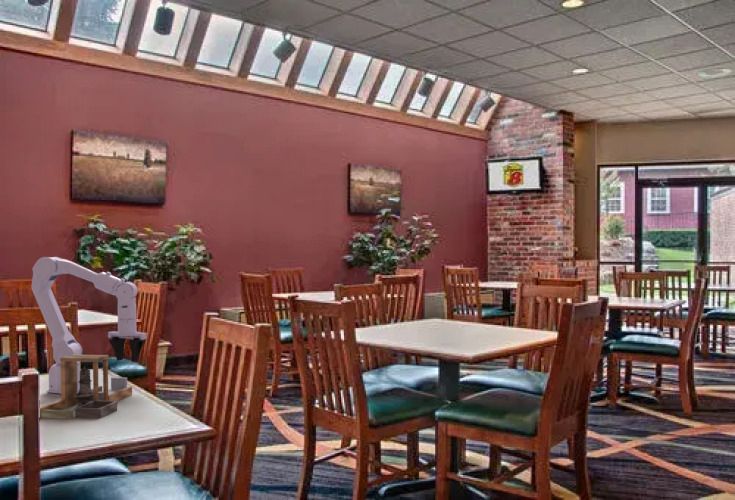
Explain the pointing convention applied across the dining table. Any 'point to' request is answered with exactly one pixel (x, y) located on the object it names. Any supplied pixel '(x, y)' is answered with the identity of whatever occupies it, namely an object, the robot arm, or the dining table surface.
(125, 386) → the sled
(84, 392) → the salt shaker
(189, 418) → the dining table surface
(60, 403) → the brown wooden frame
